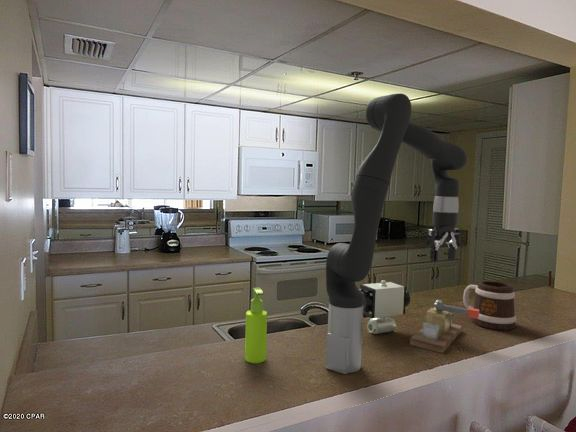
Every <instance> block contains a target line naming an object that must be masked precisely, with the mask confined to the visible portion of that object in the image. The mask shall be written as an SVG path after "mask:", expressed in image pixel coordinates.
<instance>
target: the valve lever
mask: <svg viewBox="0 0 576 432" xmlns="http://www.w3.org/2000/svg"><path fill="white" fill-rule="evenodd" d="M433 306H434V307H433V308H434V310H435V311H439V312H442V311H447V312H450V313H452V314H459V315H465V316H466V317H467V318H470V319H471V318H475V319H478V318H479V309H474V308H468V309H467V308H463V307H459V306H453V305H448V304H444V302H443V301H442V300H441V299H436V300H435V302H434V304H433Z"/></svg>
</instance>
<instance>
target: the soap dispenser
mask: <svg viewBox="0 0 576 432" xmlns="http://www.w3.org/2000/svg"><path fill="white" fill-rule="evenodd" d="M252 291H253V298H252V299H250V310H247V311H246V312H245V335H244V337H245V338H244V344H245V345H244V360H245V361H246V362H247V363H250V364H251V363H252V364H260V363H263V362H265V361H266V359H267V337H268V336H267V335H268V333H267V329H268V311H266V310H264V300H263V299H262V298H261V295H264V292H263V291H264V290H263V289H262V288H261V287H252Z"/></svg>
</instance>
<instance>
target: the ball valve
mask: <svg viewBox="0 0 576 432" xmlns="http://www.w3.org/2000/svg"><path fill="white" fill-rule="evenodd" d="M359 285H360V287H359V288H358V289H359V290H360V292H361V293H362V294H363V297H364V302H363V316H366V317H368V318H369V321H367V324H366V328H367V331H368V332H369V333H371V334H375V335H377V334H382V333H390V332H392V331H395V329H396V327H397V324H396V321H395V319H393V318H392V317H393V316H394V317H395V316H402V315H406V310H407V307H408V306H409V305H410V303H411V295H410V292H409V290H408V289H407V286H406V285H403V284H399V283H397V282H395V281H389V282H388V281H387V280H385V279H383V280H381V281H380V282H376V283H375V282H374V283H366V284H364V283H363V284H359Z"/></svg>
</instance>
